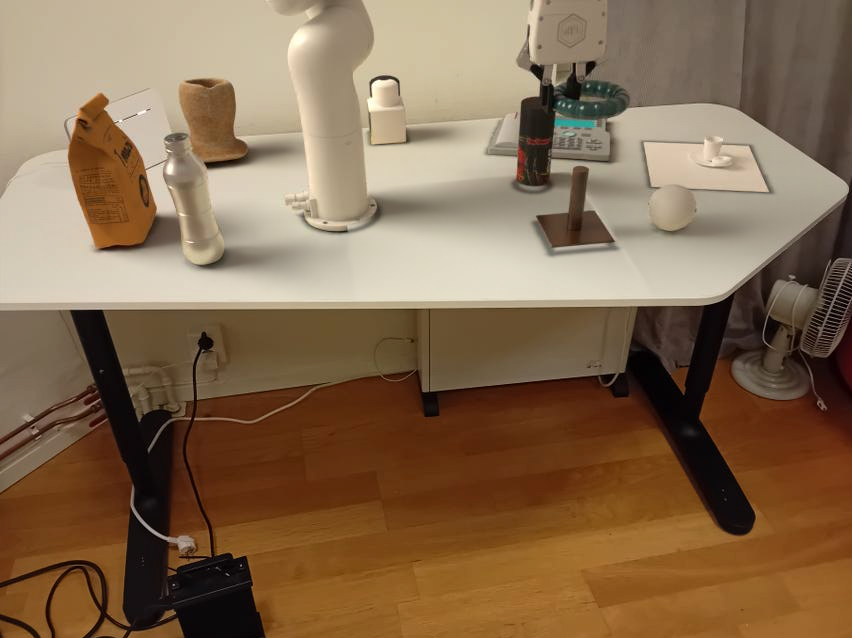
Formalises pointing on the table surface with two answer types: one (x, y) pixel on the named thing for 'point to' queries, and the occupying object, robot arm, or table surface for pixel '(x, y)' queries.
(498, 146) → the office telephone
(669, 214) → the beige ovoid
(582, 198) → the post
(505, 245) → the table surface
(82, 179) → the coffee package
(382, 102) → the medicine bottle
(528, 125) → the deodorant
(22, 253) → the table surface
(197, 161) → the plastic bottle
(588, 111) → the ring
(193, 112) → the tan upright hollow piece
